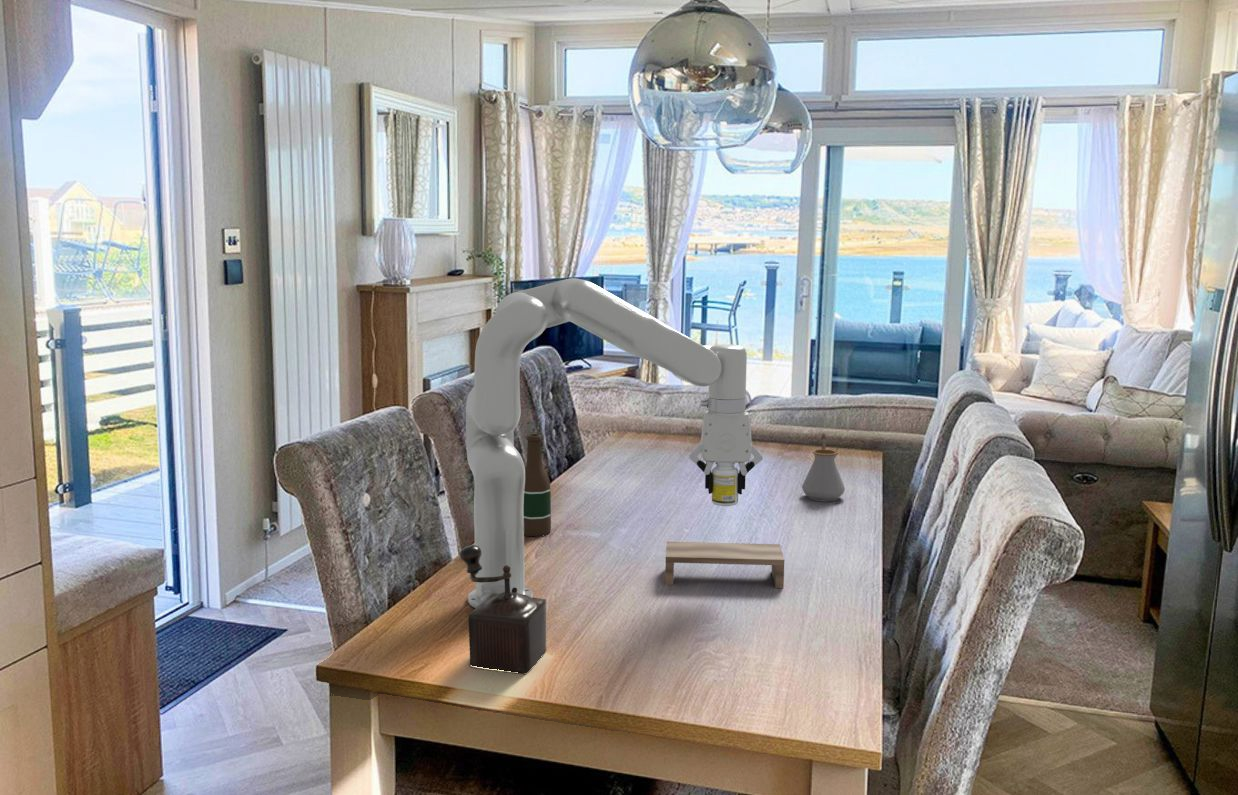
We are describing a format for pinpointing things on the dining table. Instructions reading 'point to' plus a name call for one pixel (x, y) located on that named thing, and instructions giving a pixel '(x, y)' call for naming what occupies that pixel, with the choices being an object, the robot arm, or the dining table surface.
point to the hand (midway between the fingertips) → (724, 491)
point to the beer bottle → (536, 491)
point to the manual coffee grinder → (504, 623)
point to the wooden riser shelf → (725, 556)
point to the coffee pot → (823, 476)
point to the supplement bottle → (724, 484)
